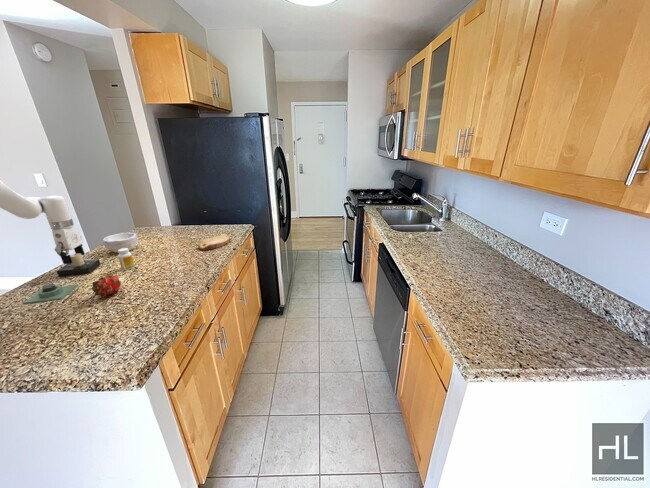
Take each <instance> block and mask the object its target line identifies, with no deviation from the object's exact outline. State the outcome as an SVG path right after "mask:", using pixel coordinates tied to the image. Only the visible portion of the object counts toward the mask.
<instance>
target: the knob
mask: <svg viewBox="0 0 650 488" xmlns="http://www.w3.org/2000/svg"><path fill="white" fill-rule="evenodd" d="M69 255H70V257H71V259H72V262H73V263H71V264H72V266H73V267H78V266H81V265H84V264H85V263H84V261H85V260H84V258H83V255H81V254H80V253H73V254H69Z"/></svg>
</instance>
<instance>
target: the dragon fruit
mask: <svg viewBox="0 0 650 488" xmlns="http://www.w3.org/2000/svg"><path fill="white" fill-rule="evenodd" d="M121 285H122V281H121V280H120V279H119V276H117V275H115V274H114V275H111V274H106V275H105V276H101V277H99V278H98V279H97V280H95V281H93V282H92V287H91V290H92V292H93V293H94V296H100V297H101V298H103V297H106V298H107V297H109V296H110V295H115V294H117V293H118V291H119V290H120V287H121Z"/></svg>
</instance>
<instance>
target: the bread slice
mask: <svg viewBox="0 0 650 488" xmlns="http://www.w3.org/2000/svg"><path fill="white" fill-rule="evenodd" d="M231 241H232V239H231V236H229V235H227V234H220V235H215V236H212V237H209V238H206V239H202V240H201V241H199V243H198V245H197V249H198V250H199V251H209V250H215V249H218V248H222V247H224V246H225V245H228V244H229V243H230V242H231Z"/></svg>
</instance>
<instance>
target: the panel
mask: <svg viewBox="0 0 650 488" xmlns="http://www.w3.org/2000/svg"><path fill="white" fill-rule="evenodd" d="M84 263H85V264H84V265H81V266H78V267H73V266H72V264H71V263H70V264H64V265H63V266H61V267H60V268H59V269H57V270H56V275H57V277H59V278H63V277H72V276H82V275H89V274H91V273H93V272H94V271H95V270H96V269H98V268H99V267H100V266H102V264H101V261H100V259H99V258H96V259H87V260H84Z"/></svg>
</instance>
